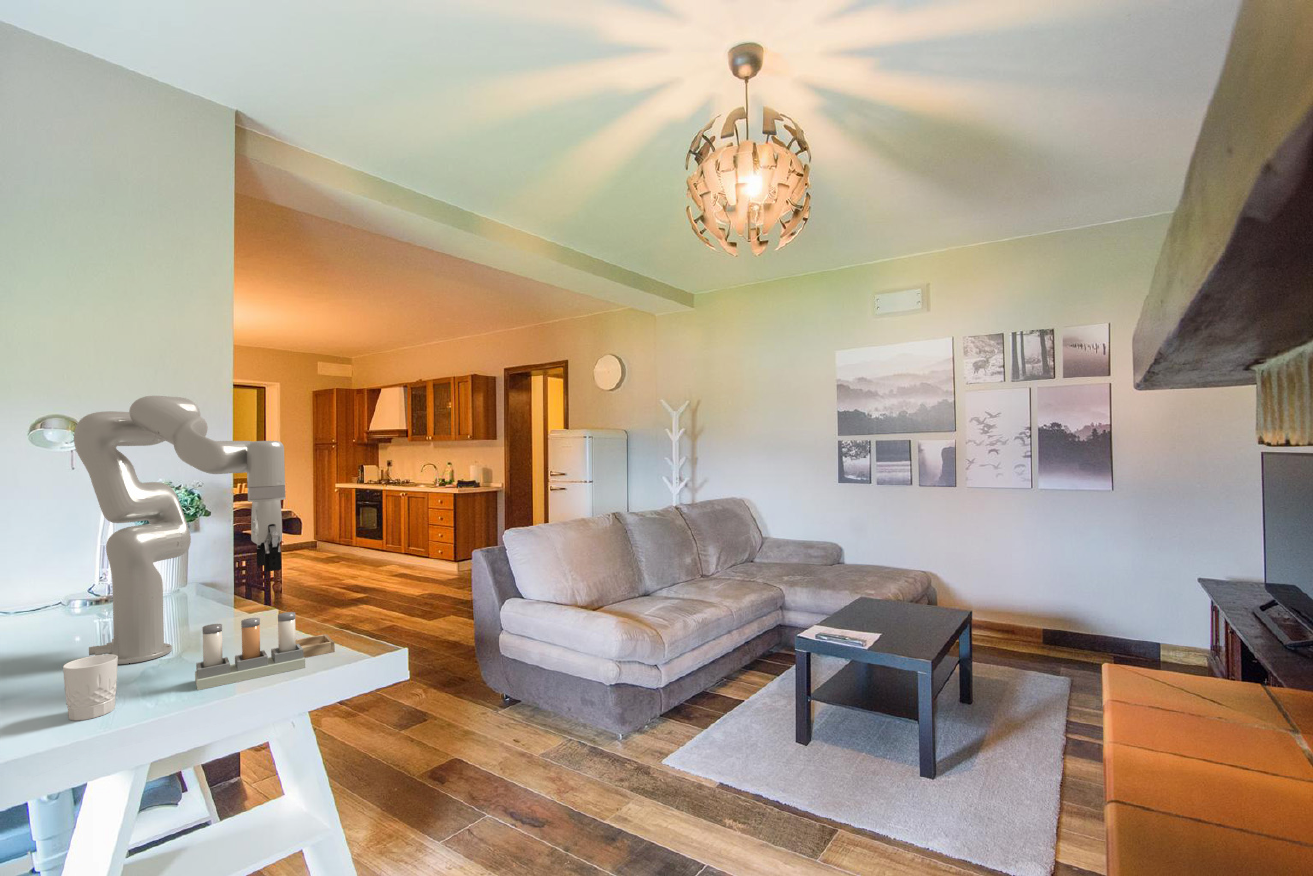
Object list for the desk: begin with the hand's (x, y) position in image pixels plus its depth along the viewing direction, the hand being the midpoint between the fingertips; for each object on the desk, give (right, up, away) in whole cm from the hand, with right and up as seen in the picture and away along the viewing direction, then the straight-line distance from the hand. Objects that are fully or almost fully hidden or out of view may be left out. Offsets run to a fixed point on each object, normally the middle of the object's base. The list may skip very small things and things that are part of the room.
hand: (268, 567), depth 150 cm
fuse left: (-5, -20, -11) cm, 24 cm away
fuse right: (+6, -20, -2) cm, 21 cm away
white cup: (-18, -23, -26) cm, 39 cm away
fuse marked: (0, -20, -7) cm, 21 cm away
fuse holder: (0, -22, -7) cm, 23 cm away
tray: (+5, -22, +8) cm, 24 cm away
